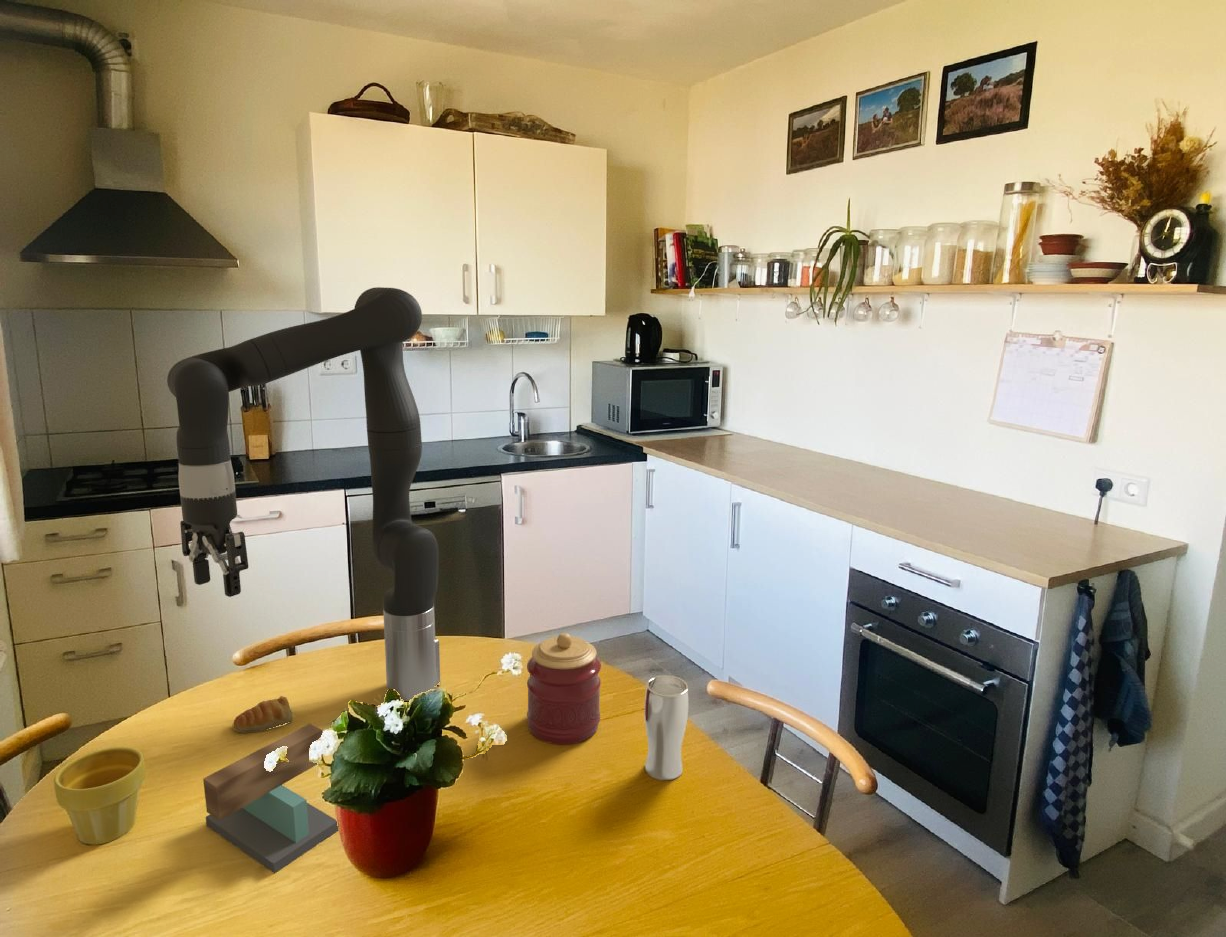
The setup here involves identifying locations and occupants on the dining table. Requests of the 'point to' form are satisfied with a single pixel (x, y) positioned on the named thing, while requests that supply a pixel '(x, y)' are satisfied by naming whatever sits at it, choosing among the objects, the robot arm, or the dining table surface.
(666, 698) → the beer glass
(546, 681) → the canister
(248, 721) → the pastry
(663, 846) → the dining table surface
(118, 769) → the plant pot
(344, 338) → the robot arm
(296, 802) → the ridge stand
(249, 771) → the walnut beam
